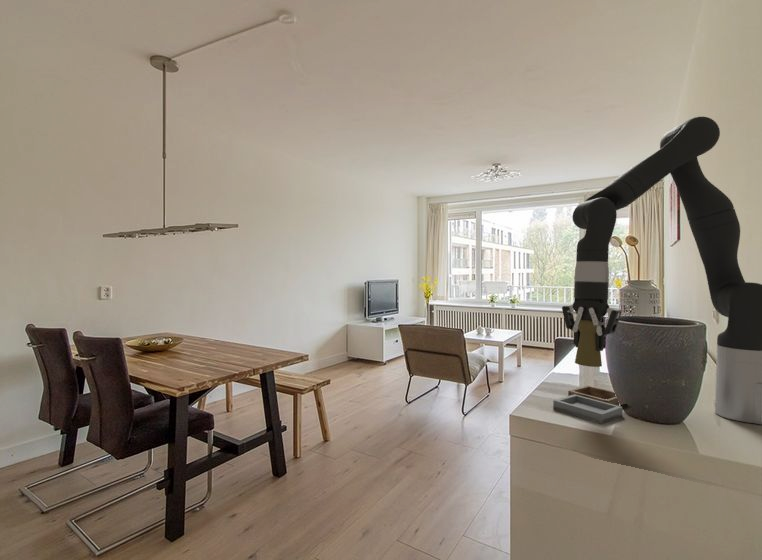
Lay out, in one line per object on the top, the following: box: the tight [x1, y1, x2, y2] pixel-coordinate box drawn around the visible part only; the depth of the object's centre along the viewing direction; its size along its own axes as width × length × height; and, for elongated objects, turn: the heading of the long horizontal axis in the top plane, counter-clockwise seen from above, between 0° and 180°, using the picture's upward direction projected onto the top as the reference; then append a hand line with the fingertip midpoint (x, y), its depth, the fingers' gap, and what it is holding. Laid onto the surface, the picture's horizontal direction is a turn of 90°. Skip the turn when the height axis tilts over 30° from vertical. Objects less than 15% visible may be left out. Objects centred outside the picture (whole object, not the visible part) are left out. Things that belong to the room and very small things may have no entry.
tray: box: [553, 394, 623, 425], centre depth 99 cm, size 12×10×2 cm
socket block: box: [567, 385, 619, 406], centre depth 107 cm, size 10×10×2 cm
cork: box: [574, 320, 603, 368], centre depth 98 cm, size 6×6×11 cm
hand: (588, 348), depth 98 cm, fingers closed on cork, 4 cm apart
